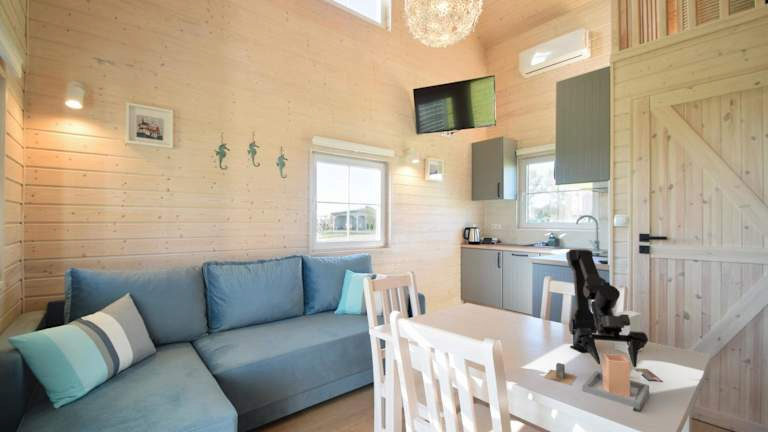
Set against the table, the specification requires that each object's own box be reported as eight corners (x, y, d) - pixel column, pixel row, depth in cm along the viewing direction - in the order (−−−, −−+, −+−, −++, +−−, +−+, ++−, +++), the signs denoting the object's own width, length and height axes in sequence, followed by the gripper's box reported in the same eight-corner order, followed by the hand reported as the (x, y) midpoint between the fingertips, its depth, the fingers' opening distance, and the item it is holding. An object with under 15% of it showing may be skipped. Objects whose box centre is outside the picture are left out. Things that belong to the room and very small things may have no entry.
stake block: (543, 380, 114) (543, 365, 114) (550, 372, 120) (550, 357, 120) (571, 388, 109) (570, 372, 109) (577, 379, 115) (576, 363, 115)
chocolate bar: (666, 384, 111) (666, 382, 111) (648, 383, 112) (648, 381, 112) (647, 369, 122) (647, 367, 122) (631, 368, 123) (631, 366, 123)
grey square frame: (582, 394, 105) (582, 386, 105) (595, 378, 115) (595, 370, 115) (639, 412, 95) (639, 403, 95) (649, 393, 105) (649, 385, 105)
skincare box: (626, 346, 142) (626, 309, 142) (643, 351, 137) (642, 312, 137) (614, 350, 139) (613, 312, 139) (630, 355, 133) (629, 315, 133)
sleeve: (608, 394, 103) (608, 360, 103) (602, 385, 108) (602, 353, 108) (630, 397, 101) (629, 362, 101) (622, 387, 107) (622, 354, 106)
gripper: (576, 302, 111) (586, 350, 100) (645, 305, 106) (664, 356, 96) (570, 320, 119) (579, 366, 108) (634, 323, 114) (650, 372, 103)
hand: (617, 365), depth 104 cm, fingers open, 9 cm apart
